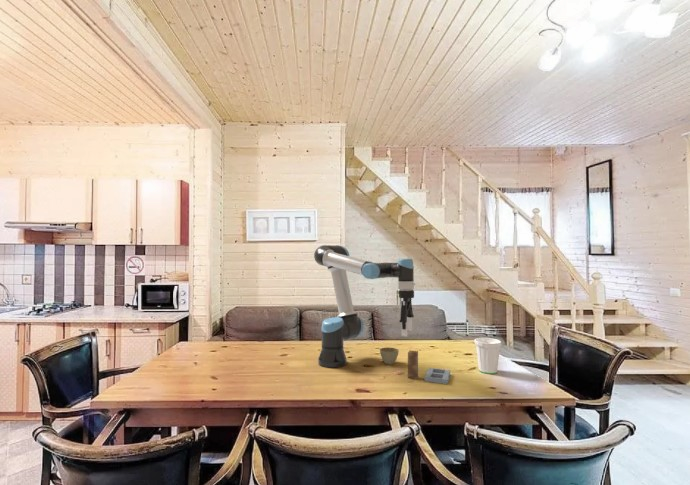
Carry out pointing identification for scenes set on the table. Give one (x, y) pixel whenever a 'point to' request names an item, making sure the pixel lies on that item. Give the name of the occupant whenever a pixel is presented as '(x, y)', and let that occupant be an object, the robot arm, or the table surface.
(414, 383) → the table surface
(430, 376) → the grey window frame
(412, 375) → the peg
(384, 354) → the flower pot
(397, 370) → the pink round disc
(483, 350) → the cup
